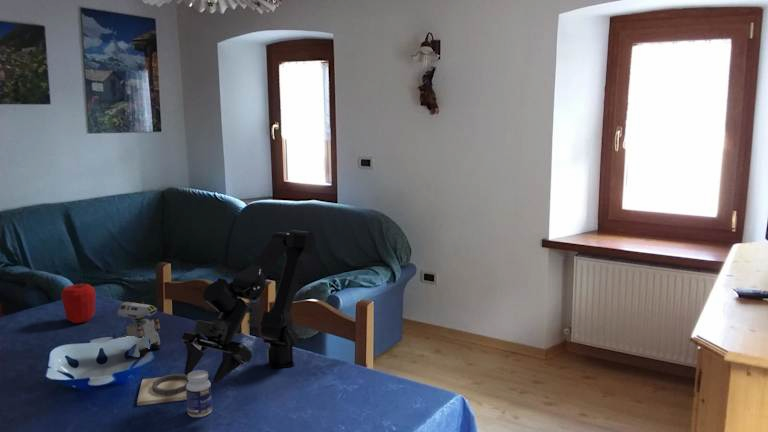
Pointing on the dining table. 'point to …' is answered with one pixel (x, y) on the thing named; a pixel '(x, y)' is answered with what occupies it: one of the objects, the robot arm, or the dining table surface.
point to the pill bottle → (198, 394)
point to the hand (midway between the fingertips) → (199, 378)
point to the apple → (78, 302)
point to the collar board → (163, 389)
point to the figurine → (141, 322)
